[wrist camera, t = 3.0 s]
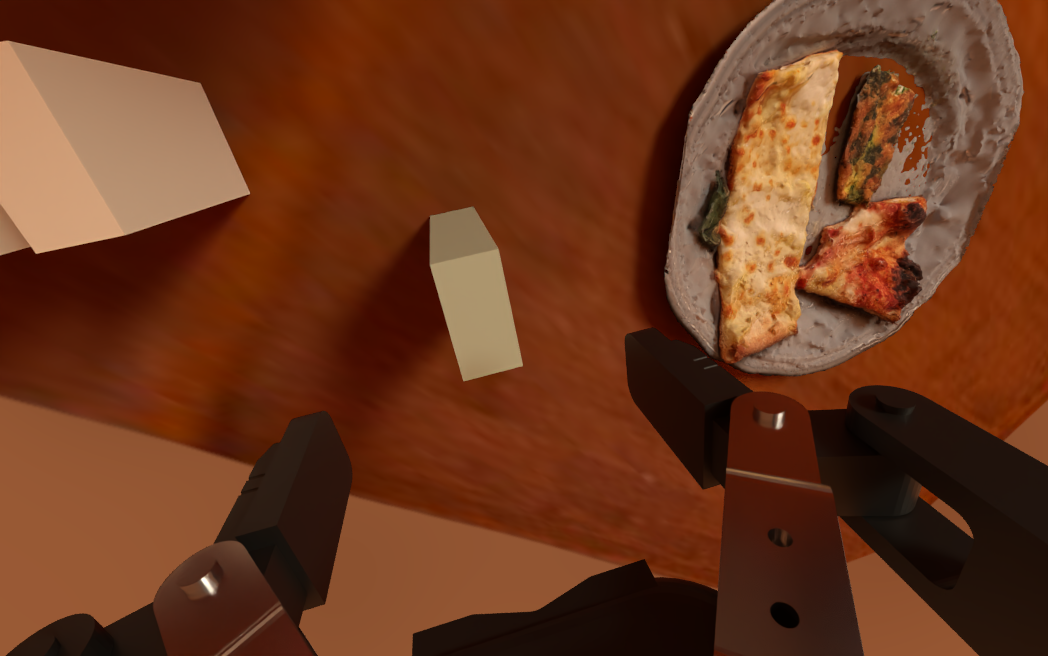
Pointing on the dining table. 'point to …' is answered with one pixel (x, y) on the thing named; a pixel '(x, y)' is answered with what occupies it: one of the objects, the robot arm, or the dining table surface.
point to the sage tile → (473, 294)
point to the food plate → (835, 178)
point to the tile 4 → (104, 148)
